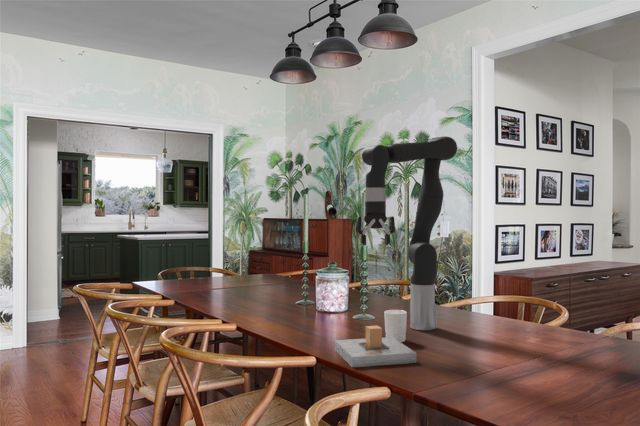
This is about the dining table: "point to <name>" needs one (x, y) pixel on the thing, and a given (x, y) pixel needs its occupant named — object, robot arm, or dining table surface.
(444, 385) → the dining table surface
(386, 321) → the white cup
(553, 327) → the dining table surface
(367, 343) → the tan wooden block
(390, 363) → the slab with square hole
